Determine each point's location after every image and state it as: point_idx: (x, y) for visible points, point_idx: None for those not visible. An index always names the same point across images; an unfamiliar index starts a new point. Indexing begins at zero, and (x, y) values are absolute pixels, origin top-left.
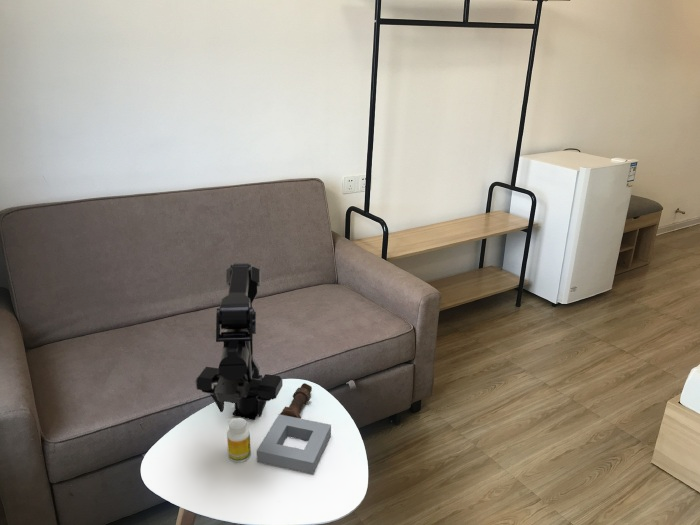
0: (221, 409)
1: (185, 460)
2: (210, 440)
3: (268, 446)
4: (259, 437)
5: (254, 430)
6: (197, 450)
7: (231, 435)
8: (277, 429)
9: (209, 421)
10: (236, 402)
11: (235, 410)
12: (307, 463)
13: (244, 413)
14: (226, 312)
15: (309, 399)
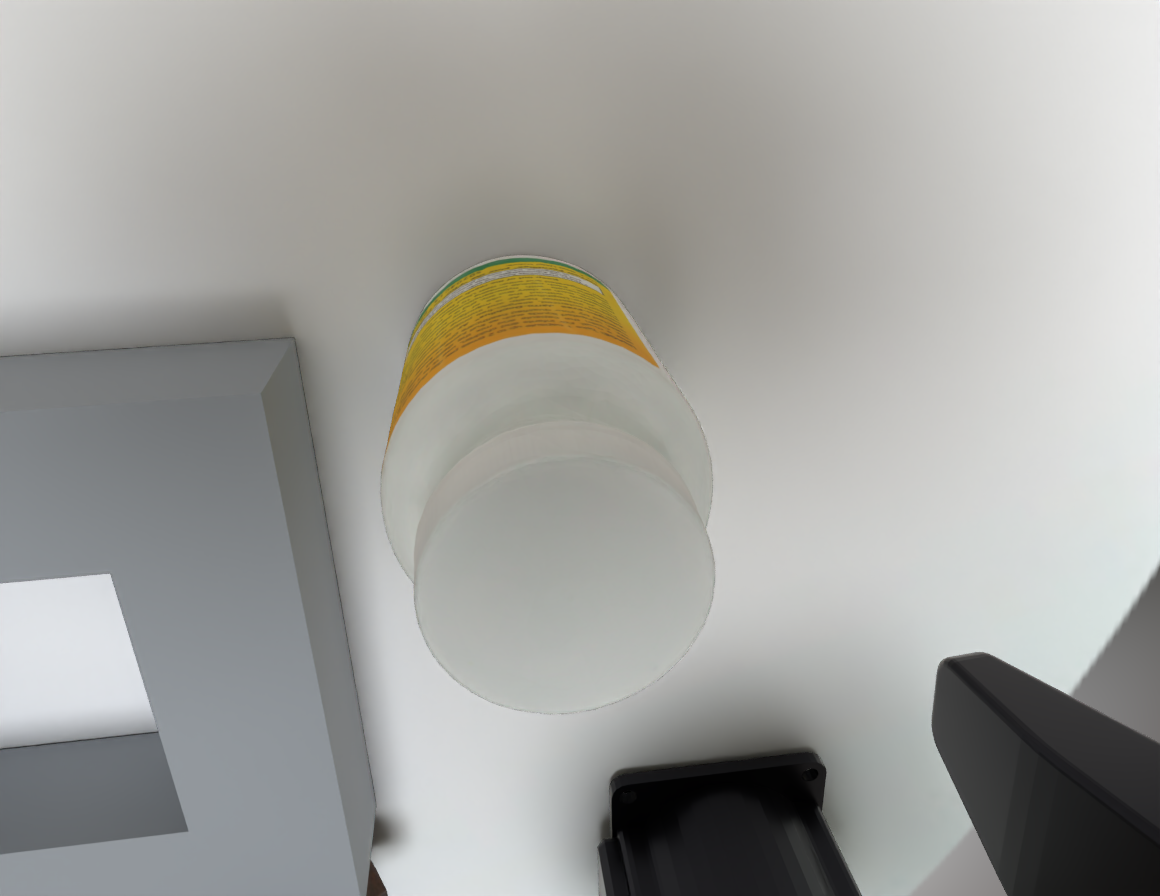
0: (1003, 710)
1: (1031, 97)
2: (887, 438)
3: (166, 503)
4: None
5: None
6: (960, 275)
7: (597, 390)
8: (244, 753)
9: (982, 631)
10: (835, 883)
11: (814, 804)
12: None
13: (719, 805)
14: None
15: None
